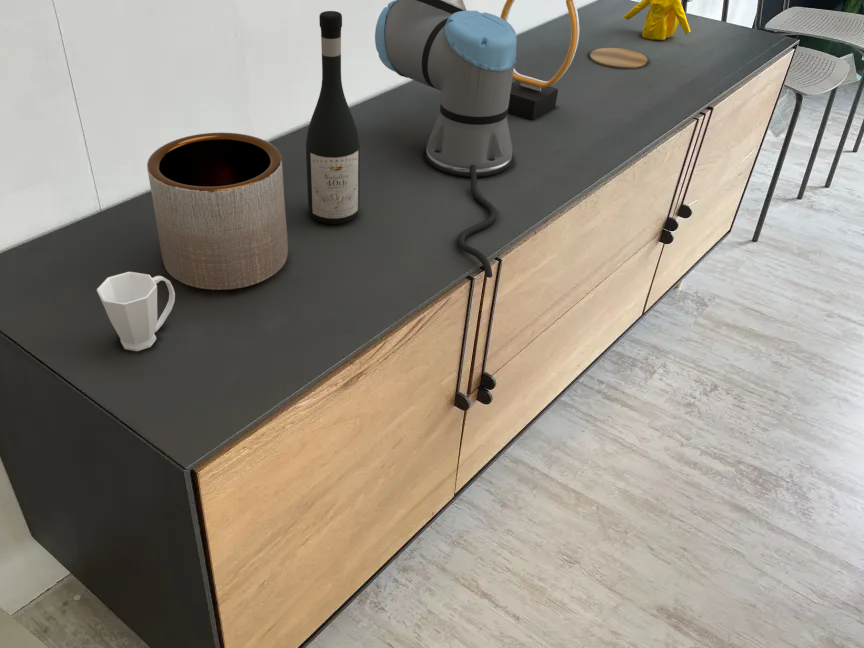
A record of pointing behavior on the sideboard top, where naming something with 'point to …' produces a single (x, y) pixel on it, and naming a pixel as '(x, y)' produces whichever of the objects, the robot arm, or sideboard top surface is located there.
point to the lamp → (536, 94)
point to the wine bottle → (332, 138)
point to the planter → (219, 210)
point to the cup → (134, 307)
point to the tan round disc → (618, 58)
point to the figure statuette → (661, 18)
